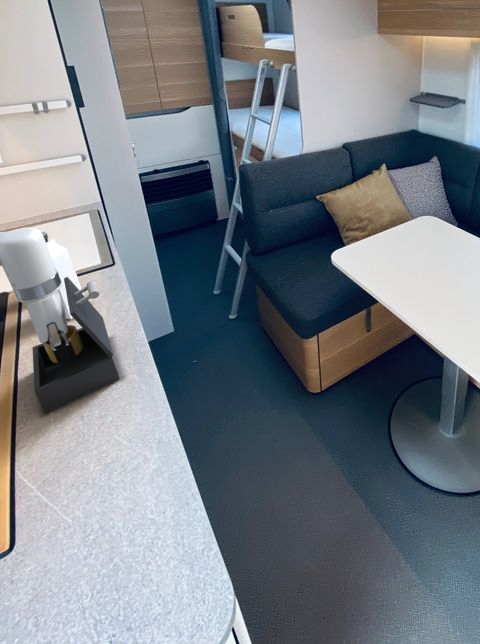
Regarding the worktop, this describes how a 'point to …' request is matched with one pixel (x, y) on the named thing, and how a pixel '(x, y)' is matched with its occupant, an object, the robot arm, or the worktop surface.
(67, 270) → the milk
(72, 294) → the lid
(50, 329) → the robot arm
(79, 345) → the cup
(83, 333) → the dark grey storage bin
